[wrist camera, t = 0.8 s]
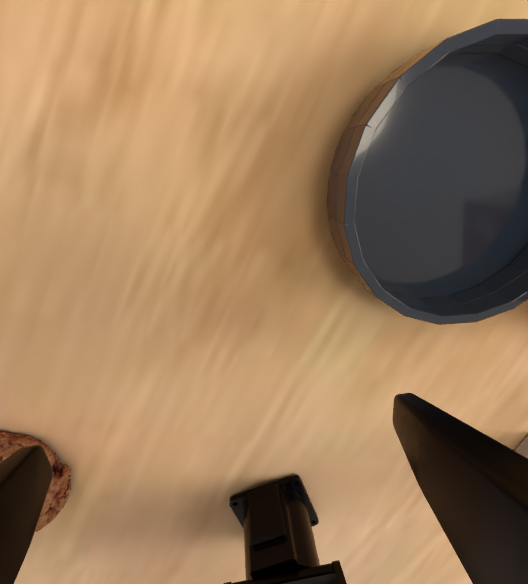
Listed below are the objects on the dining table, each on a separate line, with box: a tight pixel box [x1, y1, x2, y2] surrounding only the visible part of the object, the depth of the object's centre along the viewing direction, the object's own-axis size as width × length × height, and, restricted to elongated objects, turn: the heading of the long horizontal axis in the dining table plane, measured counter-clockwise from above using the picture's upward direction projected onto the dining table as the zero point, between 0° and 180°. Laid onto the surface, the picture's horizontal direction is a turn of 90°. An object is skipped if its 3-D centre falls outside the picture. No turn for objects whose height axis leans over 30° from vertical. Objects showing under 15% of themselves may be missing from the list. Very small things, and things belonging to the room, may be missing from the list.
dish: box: [327, 19, 528, 325], centre depth 19 cm, size 15×15×4 cm
